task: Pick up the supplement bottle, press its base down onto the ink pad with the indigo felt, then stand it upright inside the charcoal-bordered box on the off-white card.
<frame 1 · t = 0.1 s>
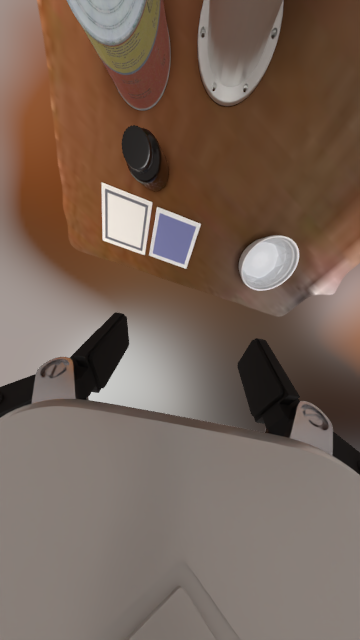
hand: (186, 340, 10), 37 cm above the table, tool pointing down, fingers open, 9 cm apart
marked card: (125, 222, 38), on the table
ink pad: (173, 240, 39), on the table
ramekin: (258, 260, 40), on the table
supplement bottle: (155, 172, 32), on the table
canned food: (139, 57, 24), on the table
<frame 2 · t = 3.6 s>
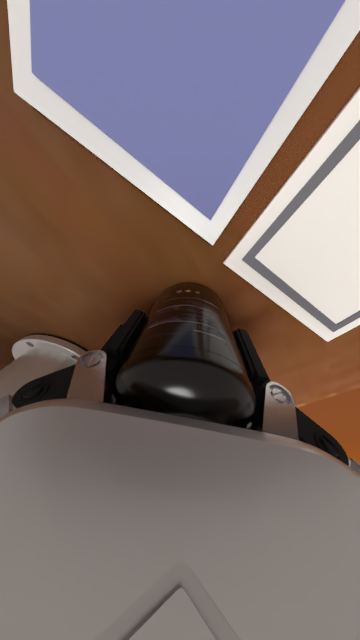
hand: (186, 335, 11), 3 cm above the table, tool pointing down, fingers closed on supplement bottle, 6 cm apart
ink pad: (189, 3, 5), on the table
supplement bottle: (188, 313, 14), on the table, touching gripper
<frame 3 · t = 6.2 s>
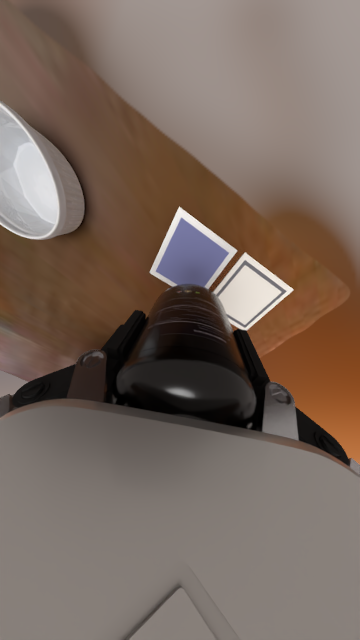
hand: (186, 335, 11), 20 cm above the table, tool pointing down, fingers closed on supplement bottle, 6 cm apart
marked card: (244, 297, 29), on the table
ink pad: (190, 261, 26), on the table
ramekin: (53, 191, 23), on the table
supplement bottle: (188, 313, 14), point 17 cm above the table, touching gripper
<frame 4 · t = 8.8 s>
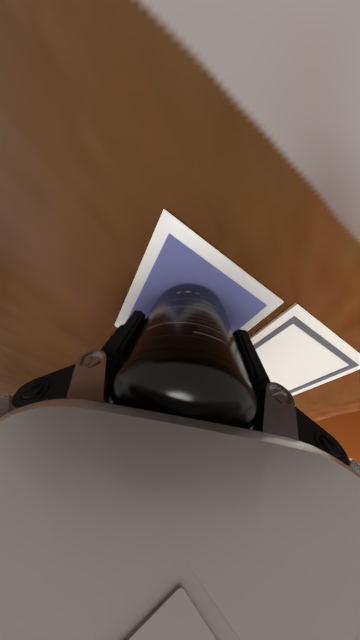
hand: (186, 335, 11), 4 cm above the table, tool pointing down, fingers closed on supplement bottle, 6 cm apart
marked card: (279, 366, 17), on the table
ink pad: (188, 311, 14), on the table
supplement bottle: (188, 314, 13), point 1 cm above the table, touching gripper, ink pad
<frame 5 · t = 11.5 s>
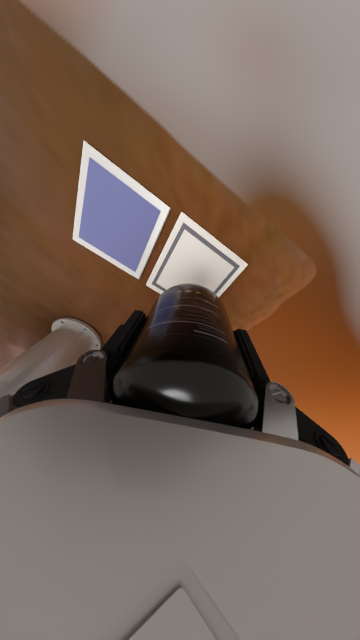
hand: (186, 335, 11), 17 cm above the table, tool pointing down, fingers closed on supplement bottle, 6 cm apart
marked card: (192, 275, 24), on the table
ink pad: (119, 225, 21), on the table
supplement bottle: (188, 313, 13), point 13 cm above the table, touching gripper
when the fingers open (5 cm above the table, at t = 14.1 s): supplement bottle drops 1 cm, resting on marked card.
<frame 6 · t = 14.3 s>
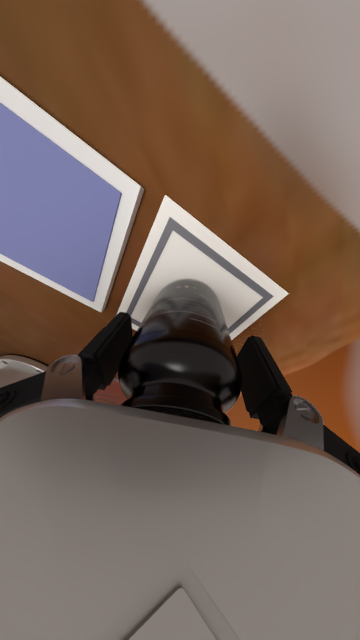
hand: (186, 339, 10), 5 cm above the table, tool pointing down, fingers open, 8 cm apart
marked card: (189, 306, 15), on the table
ink pad: (53, 222, 11), on the table
supplement bottle: (187, 308, 15), resting on marked card
canned food: (119, 393, 28), on the table
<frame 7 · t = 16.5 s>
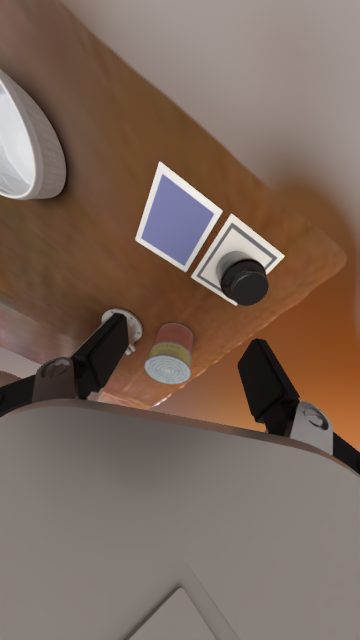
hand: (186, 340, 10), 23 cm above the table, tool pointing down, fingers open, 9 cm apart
marked card: (233, 267, 28), on the table
ink pad: (175, 226, 26), on the table
ramekin: (35, 152, 23), on the table
supplement bottle: (232, 267, 28), resting on marked card
canned food: (175, 337, 43), on the table
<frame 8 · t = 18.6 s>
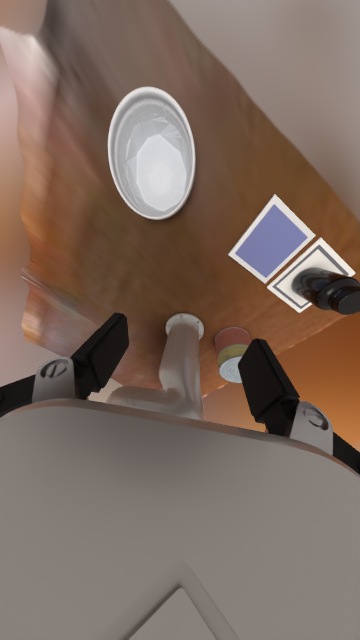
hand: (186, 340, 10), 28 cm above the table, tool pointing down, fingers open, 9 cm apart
marked card: (307, 280, 33), on the table
ink pad: (267, 245, 30), on the table
ramekin: (161, 178, 26), on the table
supplement bottle: (306, 280, 33), resting on marked card
canned food: (231, 339, 46), on the table
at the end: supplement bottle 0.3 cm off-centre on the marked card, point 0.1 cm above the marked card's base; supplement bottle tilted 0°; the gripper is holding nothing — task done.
